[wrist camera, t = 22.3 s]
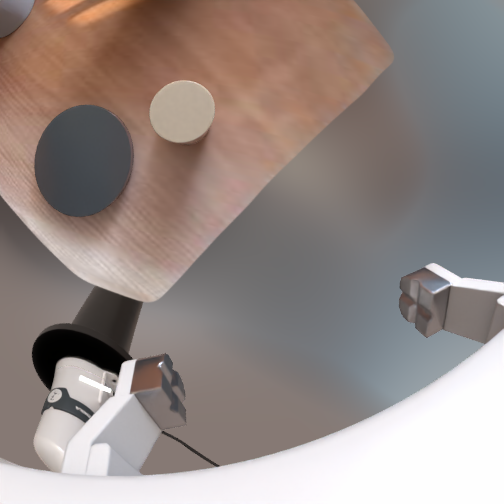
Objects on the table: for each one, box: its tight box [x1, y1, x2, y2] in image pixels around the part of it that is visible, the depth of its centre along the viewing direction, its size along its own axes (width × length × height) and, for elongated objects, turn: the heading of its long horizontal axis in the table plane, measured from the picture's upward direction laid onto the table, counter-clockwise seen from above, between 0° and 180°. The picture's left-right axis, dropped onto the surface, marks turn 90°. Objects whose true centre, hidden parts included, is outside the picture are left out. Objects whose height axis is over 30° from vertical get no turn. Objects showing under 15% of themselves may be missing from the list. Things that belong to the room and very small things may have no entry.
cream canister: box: [149, 81, 215, 145], centre depth 30 cm, size 6×6×12 cm
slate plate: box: [35, 105, 134, 217], centre depth 33 cm, size 16×16×2 cm
